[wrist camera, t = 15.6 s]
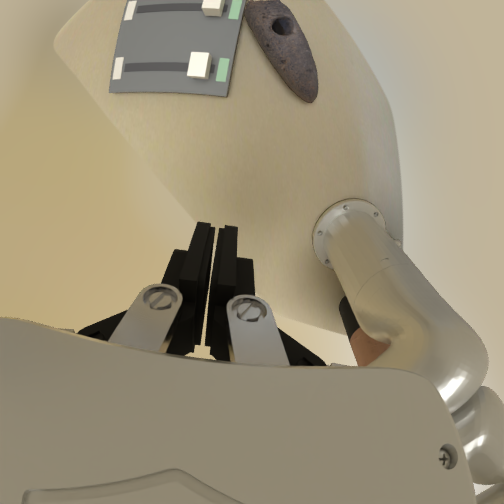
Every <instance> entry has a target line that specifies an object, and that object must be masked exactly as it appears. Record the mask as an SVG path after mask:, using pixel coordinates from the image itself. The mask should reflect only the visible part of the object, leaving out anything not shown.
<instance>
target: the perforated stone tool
mask: <svg viewBox="0 0 504 504" xmlns="http://www.w3.org/2000/svg"><path fill="white" fill-rule="evenodd" d="M244 14H245V17H246V20H247V22H248V24H249V26H250V28H251V30H252V31H253V33H254V35H255V37H256V39H257V41H258V42H259V44H260V46H261V48H262V49H263V51H264V52H265V54H266V55H267V57H268V59H269V60H270V62H271V63H272V64H273V66H274V67H275V69H276V70H277V71H278V73H279V74H280V76H281V77H282V78H283V80H284V81H285V82H286V84H287V85H288V86H289V87H290V88H291V89H292V90H293V91H294V92H295V93H296V94H297V95H298V96H299V97H300V98H301V99H303V100H304V101H306V102H308V103H312V102H313V101H314V100H315V99H316V97H317V93H318V78H317V70H316V65H315V62H314V59H313V57H312V53H311V50H310V47H309V45H308V42H307V40H306V38H305V36H304V34H303V32H302V30H301V28H300V26H299V24H298V23H297V21H296V19H295V17H294V15H293V14H292V12H291V11H290V9H289V8H288V7H287V6H285V5H284V4H283V3H282V2H281V1H280V0H267V1H263V0H260V1H255V2H254V1H253V0H250V1H249V2H248V3H247V5H246V8H245V11H244Z"/></svg>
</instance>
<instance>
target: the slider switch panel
mask: <svg viewBox="0 0 504 504" xmlns="http://www.w3.org/2000/svg"><path fill="white" fill-rule="evenodd" d="M246 2H247V0H225V3H224V7H223V11H222V16H221V17H220V16H205V14H204V12H203V10H202V4H203V0H127V3H126V6H125V10H124V14H123V17H122V21H121V25H120V30H119V34H118V39H117V44H116V49H115V54H114V60H113V66H112V72H111V79H110V87H109V93H123V92H169V93H189V94H202V95H213V96H223V97H227V95H228V89H229V84H230V78H231V73H232V68H233V62H234V57H235V52H236V47H237V42H238V37H239V33H240V28H241V23H242V19H243V14H244V10H245V6H246ZM191 52H205V53H210V55H211V56H212V61H211V66H210V72H209V78H208V79H197V78H191V77H189V76H187V72H188V67H189V61H190V56H191Z"/></svg>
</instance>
